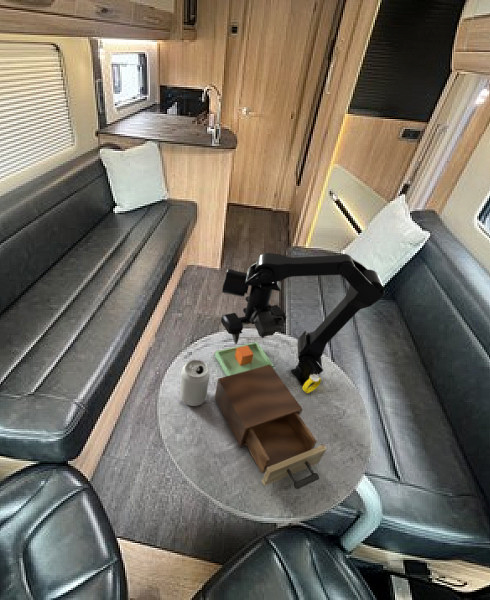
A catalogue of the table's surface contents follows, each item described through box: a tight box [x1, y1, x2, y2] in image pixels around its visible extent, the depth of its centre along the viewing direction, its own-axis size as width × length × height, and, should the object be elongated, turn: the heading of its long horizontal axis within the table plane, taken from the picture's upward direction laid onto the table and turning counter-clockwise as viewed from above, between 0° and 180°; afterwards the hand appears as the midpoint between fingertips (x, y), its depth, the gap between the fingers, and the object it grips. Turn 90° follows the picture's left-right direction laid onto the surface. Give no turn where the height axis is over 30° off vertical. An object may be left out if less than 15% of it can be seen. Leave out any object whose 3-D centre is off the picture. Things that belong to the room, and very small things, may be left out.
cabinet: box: [214, 365, 303, 448], centre depth 86 cm, size 16×17×8 cm
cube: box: [235, 346, 253, 366], centre depth 102 cm, size 4×4×4 cm
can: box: [179, 358, 211, 407], centre depth 87 cm, size 8×8×12 cm
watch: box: [302, 374, 322, 394], centre depth 95 cm, size 6×3×6 cm, turn 120°
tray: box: [214, 341, 275, 376], centre depth 102 cm, size 15×11×2 cm
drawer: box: [244, 413, 327, 490], centre depth 77 cm, size 19×15×6 cm
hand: (249, 340), depth 97 cm, fingers open, 9 cm apart
